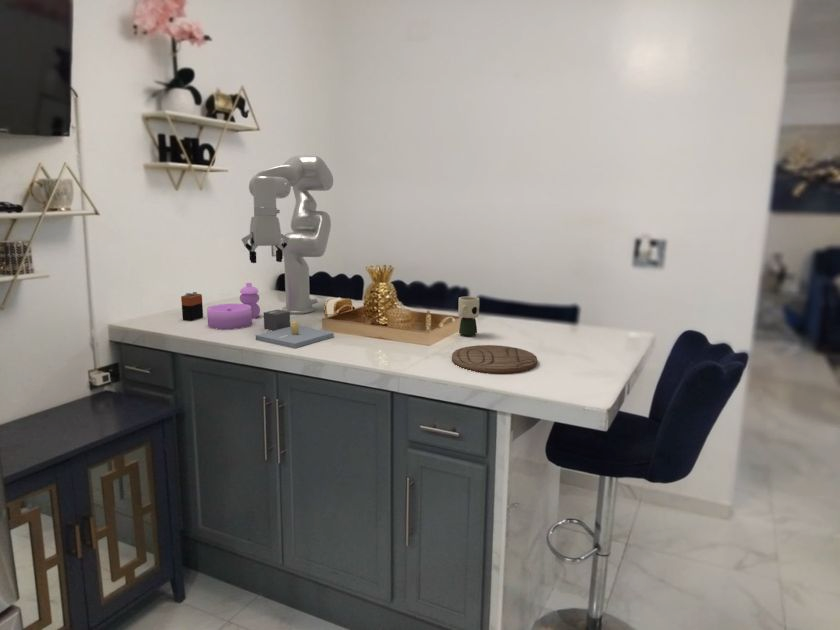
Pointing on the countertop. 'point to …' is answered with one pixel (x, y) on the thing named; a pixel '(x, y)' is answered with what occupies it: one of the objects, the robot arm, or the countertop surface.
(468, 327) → the character mug
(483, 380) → the countertop surface
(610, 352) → the countertop surface
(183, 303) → the battery
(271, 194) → the robot arm
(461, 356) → the trivet
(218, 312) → the container set
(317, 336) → the hub panel
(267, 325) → the dark gray cube
